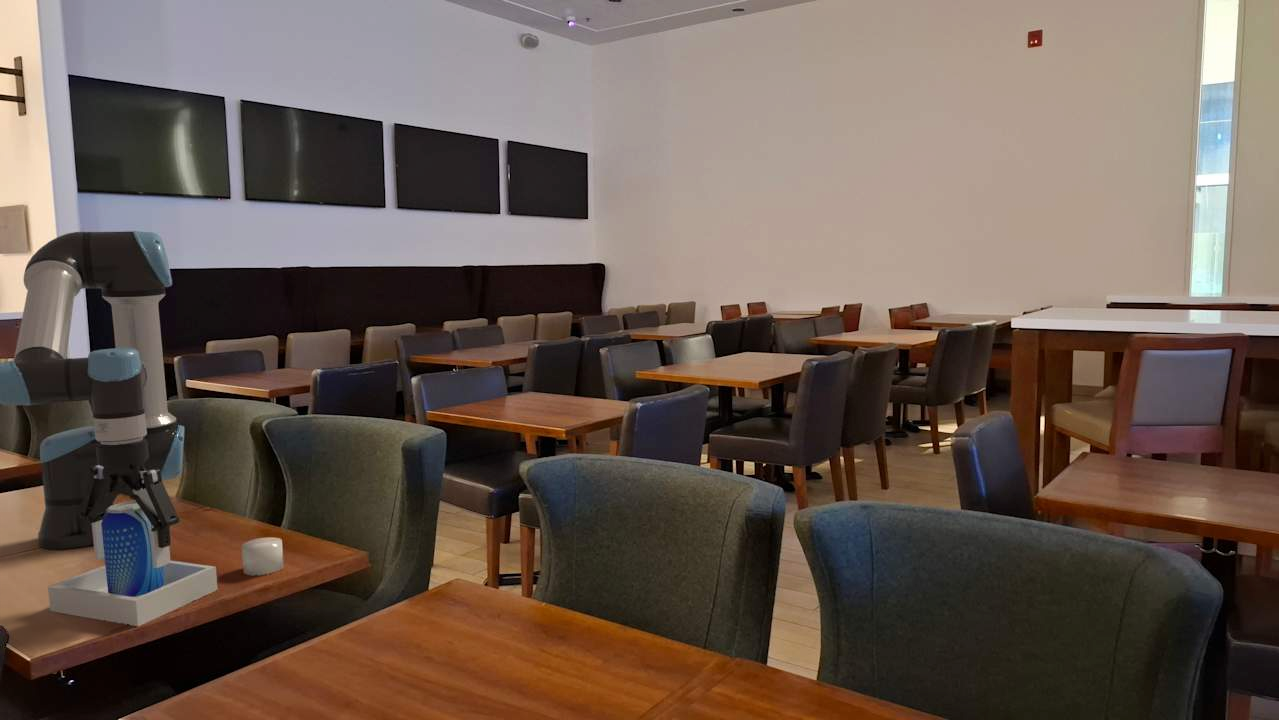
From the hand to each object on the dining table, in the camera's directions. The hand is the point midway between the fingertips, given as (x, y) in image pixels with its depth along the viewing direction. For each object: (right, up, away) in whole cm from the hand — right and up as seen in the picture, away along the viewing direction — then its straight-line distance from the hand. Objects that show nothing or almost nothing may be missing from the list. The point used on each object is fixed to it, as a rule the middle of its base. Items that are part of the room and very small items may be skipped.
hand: (132, 561), depth 149 cm
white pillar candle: (+16, -5, +15) cm, 23 cm away
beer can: (0, -6, +1) cm, 6 cm away
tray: (0, -7, +1) cm, 7 cm away
